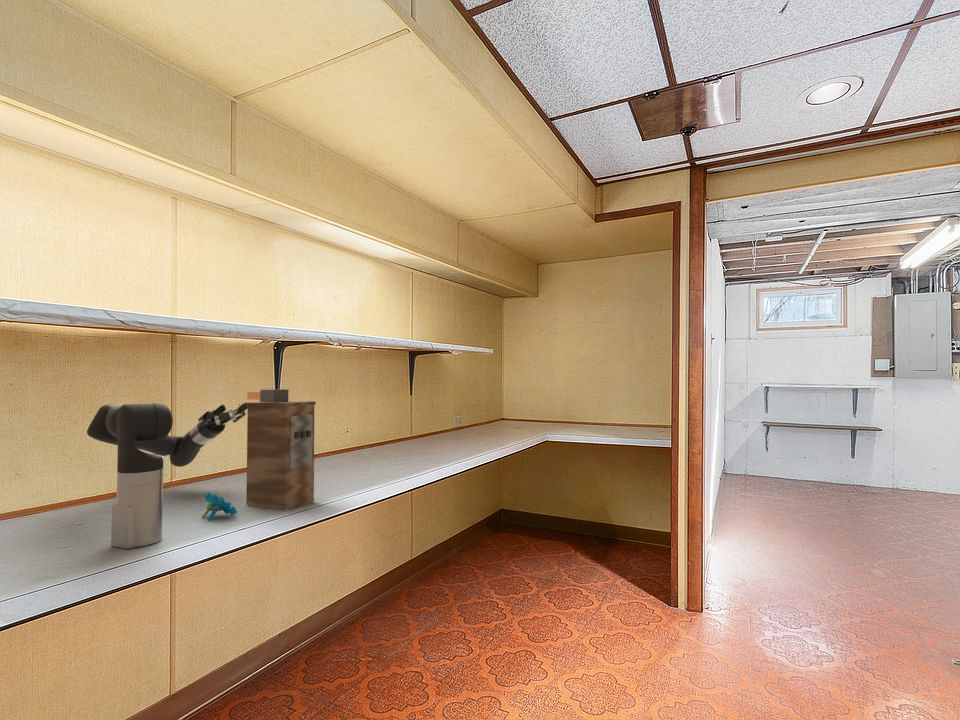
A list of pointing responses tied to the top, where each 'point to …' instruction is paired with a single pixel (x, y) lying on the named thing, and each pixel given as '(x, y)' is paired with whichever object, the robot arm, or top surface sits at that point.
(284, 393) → the block
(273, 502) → the stand
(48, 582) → the top surface
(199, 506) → the top surface
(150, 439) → the robot arm
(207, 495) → the teal plastic lumpy figure
